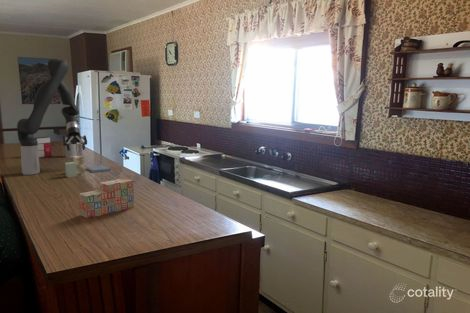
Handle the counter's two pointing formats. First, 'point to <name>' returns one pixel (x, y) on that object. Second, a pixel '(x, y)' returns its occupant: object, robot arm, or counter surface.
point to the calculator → (44, 146)
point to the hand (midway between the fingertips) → (76, 149)
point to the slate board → (98, 169)
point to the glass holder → (71, 150)
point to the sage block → (70, 169)
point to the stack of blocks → (107, 198)
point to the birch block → (79, 163)
